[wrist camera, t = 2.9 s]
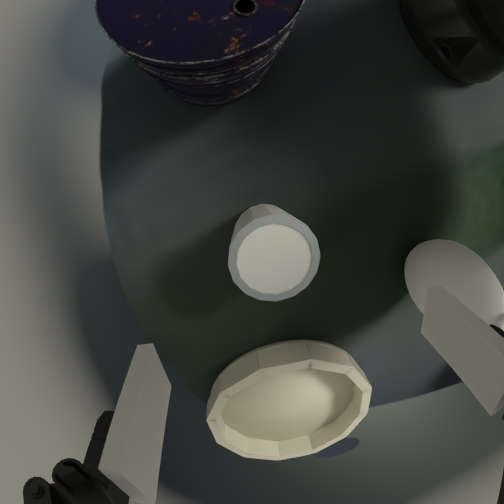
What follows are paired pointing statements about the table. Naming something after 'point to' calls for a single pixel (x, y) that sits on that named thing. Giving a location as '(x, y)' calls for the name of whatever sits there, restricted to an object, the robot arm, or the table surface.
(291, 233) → the shot glass
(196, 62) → the storage jar
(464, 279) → the sauce bottle
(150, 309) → the table surface
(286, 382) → the cream bowl
